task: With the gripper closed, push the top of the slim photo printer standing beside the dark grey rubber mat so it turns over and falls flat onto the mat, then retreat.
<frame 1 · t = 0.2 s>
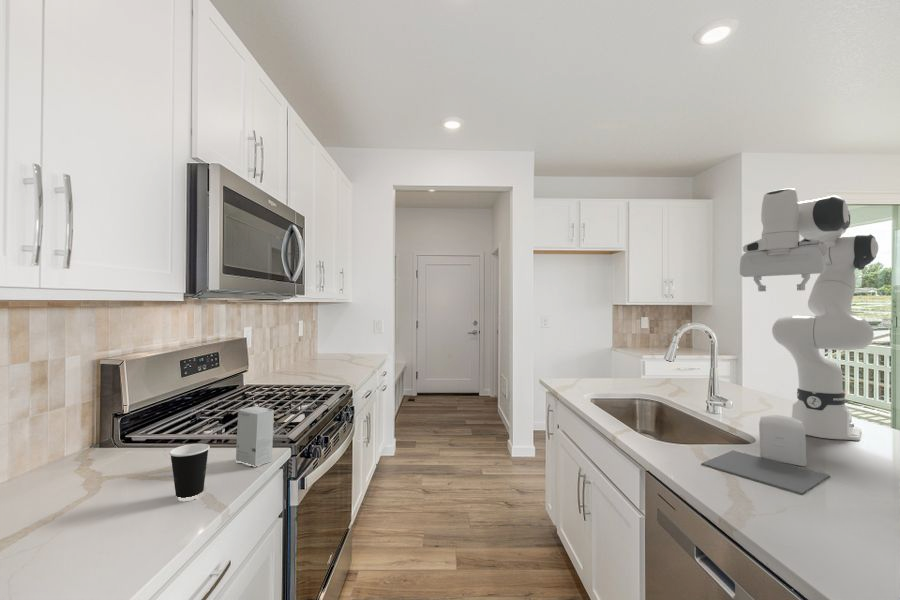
hand: (780, 291, 125), 47 cm above the table, fingers open, 8 cm apart
mat: (763, 470, 111), on the table
photo printer: (782, 461, 117), on the table
dixie cup: (189, 498, 98), on the table
skincare box: (255, 463, 119), on the table
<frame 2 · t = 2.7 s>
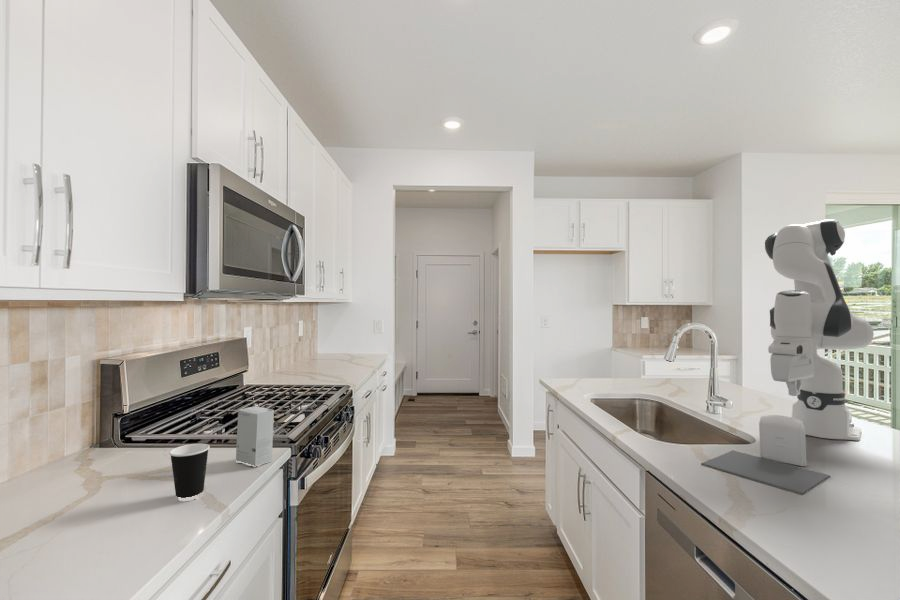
hand: (794, 395, 122), 17 cm above the table, fingers closed
nothing on the table moved.
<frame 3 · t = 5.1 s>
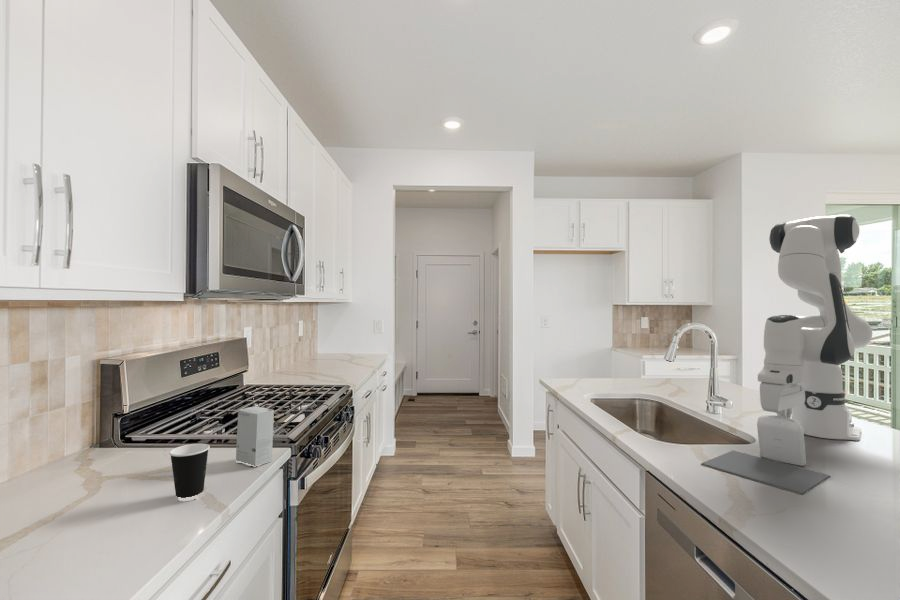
hand: (784, 424, 118), 10 cm above the table, fingers closed
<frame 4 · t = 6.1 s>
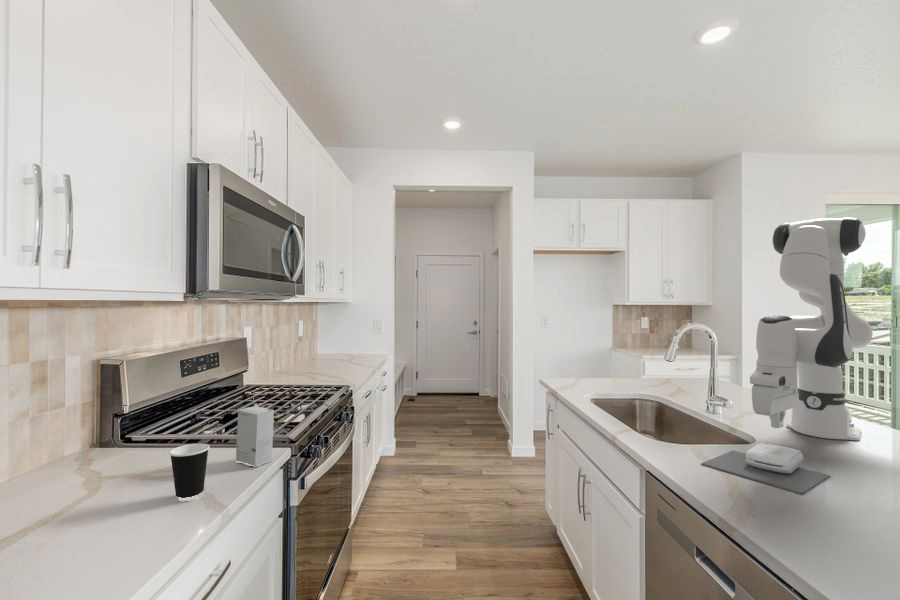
hand: (777, 427, 116), 10 cm above the table, fingers closed
photo printer: (779, 452, 116), point 3 cm above the table, touching mat
everything else where it was.
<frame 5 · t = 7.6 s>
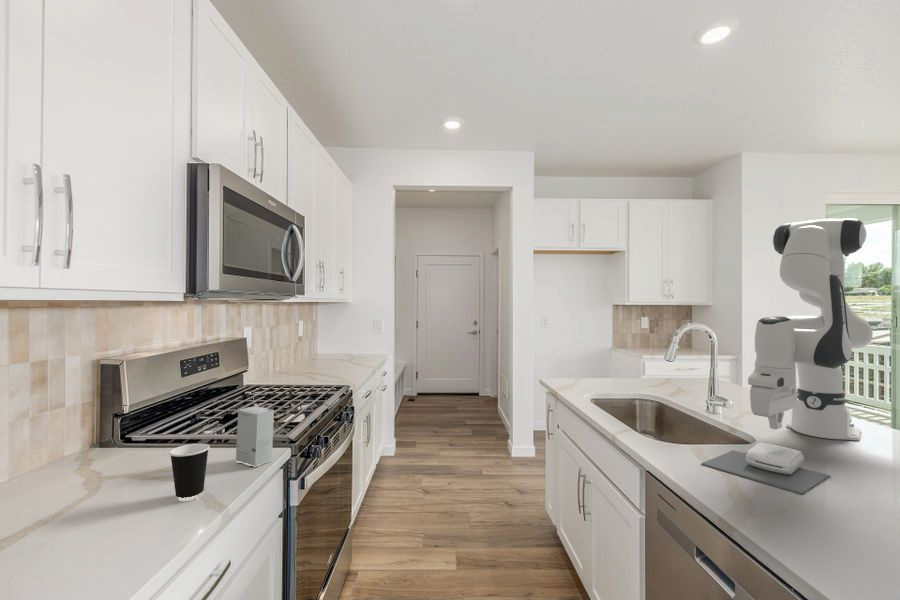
hand: (775, 428, 115), 10 cm above the table, fingers closed
nothing on the table moved.
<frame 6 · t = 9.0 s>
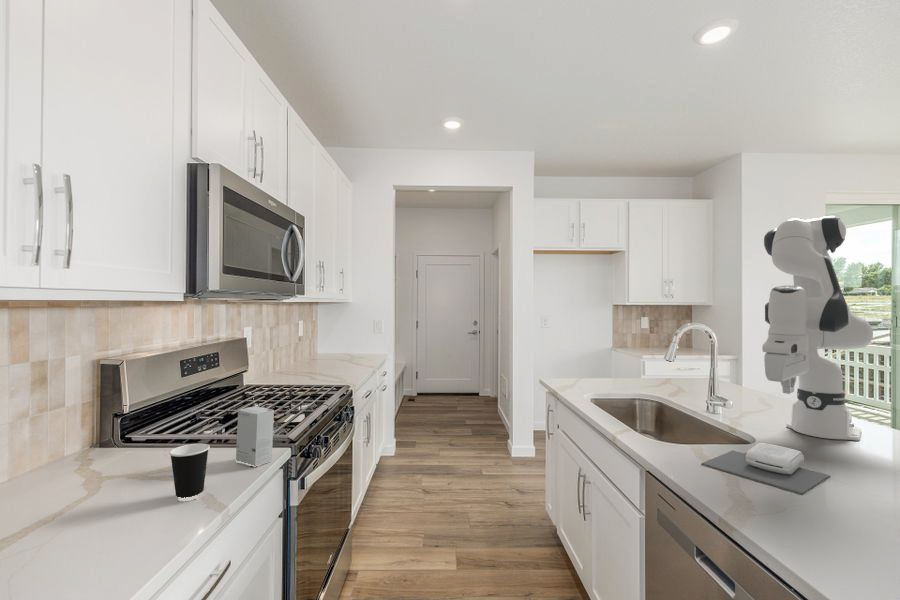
hand: (788, 392, 120), 18 cm above the table, fingers closed
nothing on the table moved.
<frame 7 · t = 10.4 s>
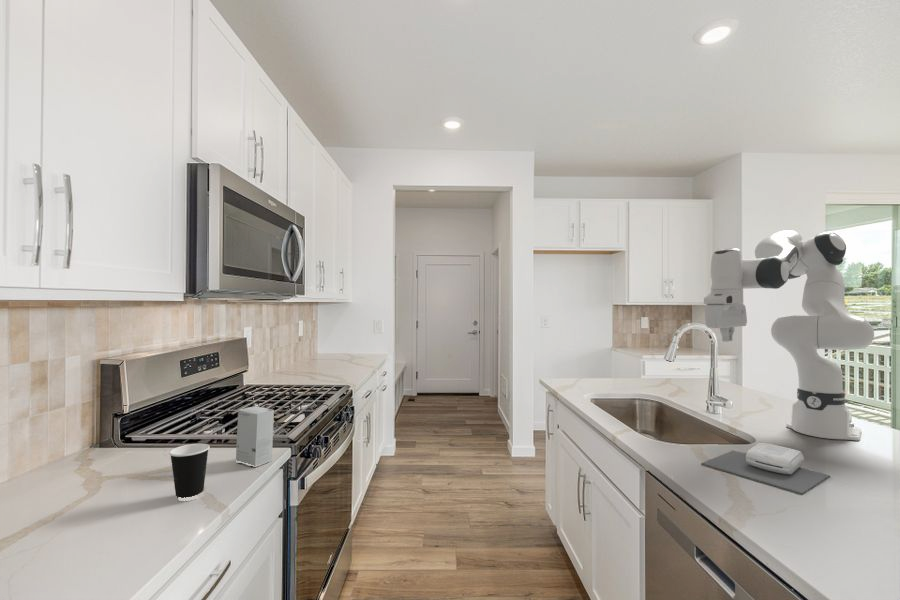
hand: (727, 341, 138), 31 cm above the table, fingers closed
nothing on the table moved.
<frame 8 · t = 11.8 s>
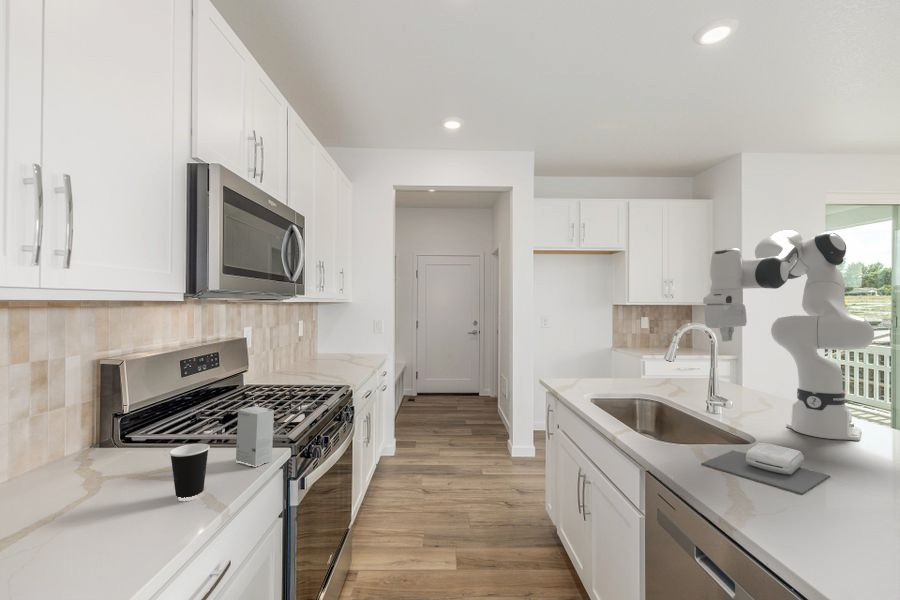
hand: (727, 341, 138), 31 cm above the table, fingers closed
nothing on the table moved.
at the end: photo printer tilted 91°; photo printer inside the target area on the mat (8.7 cm from its centre), point 2.6 cm above the mat's base; the gripper is holding nothing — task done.
